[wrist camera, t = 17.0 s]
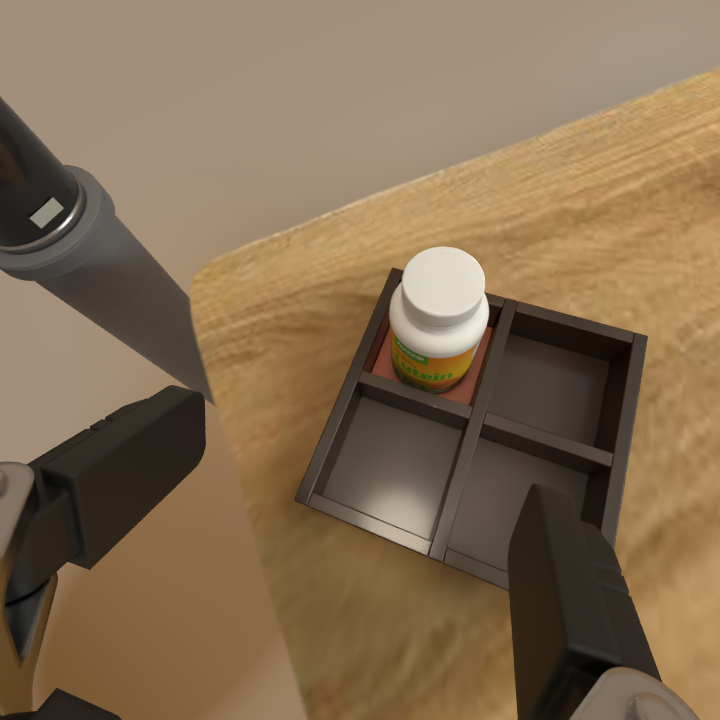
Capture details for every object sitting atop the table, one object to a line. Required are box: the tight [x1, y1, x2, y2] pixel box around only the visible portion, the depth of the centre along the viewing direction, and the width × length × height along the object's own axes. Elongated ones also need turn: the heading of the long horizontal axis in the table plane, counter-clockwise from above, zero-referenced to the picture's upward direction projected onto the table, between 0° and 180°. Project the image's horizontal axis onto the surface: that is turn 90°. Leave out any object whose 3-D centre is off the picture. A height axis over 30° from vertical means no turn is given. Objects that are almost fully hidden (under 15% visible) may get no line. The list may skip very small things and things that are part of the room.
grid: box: [295, 268, 648, 591], centre depth 26 cm, size 16×16×4 cm
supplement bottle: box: [389, 247, 489, 394], centre depth 25 cm, size 5×5×10 cm
